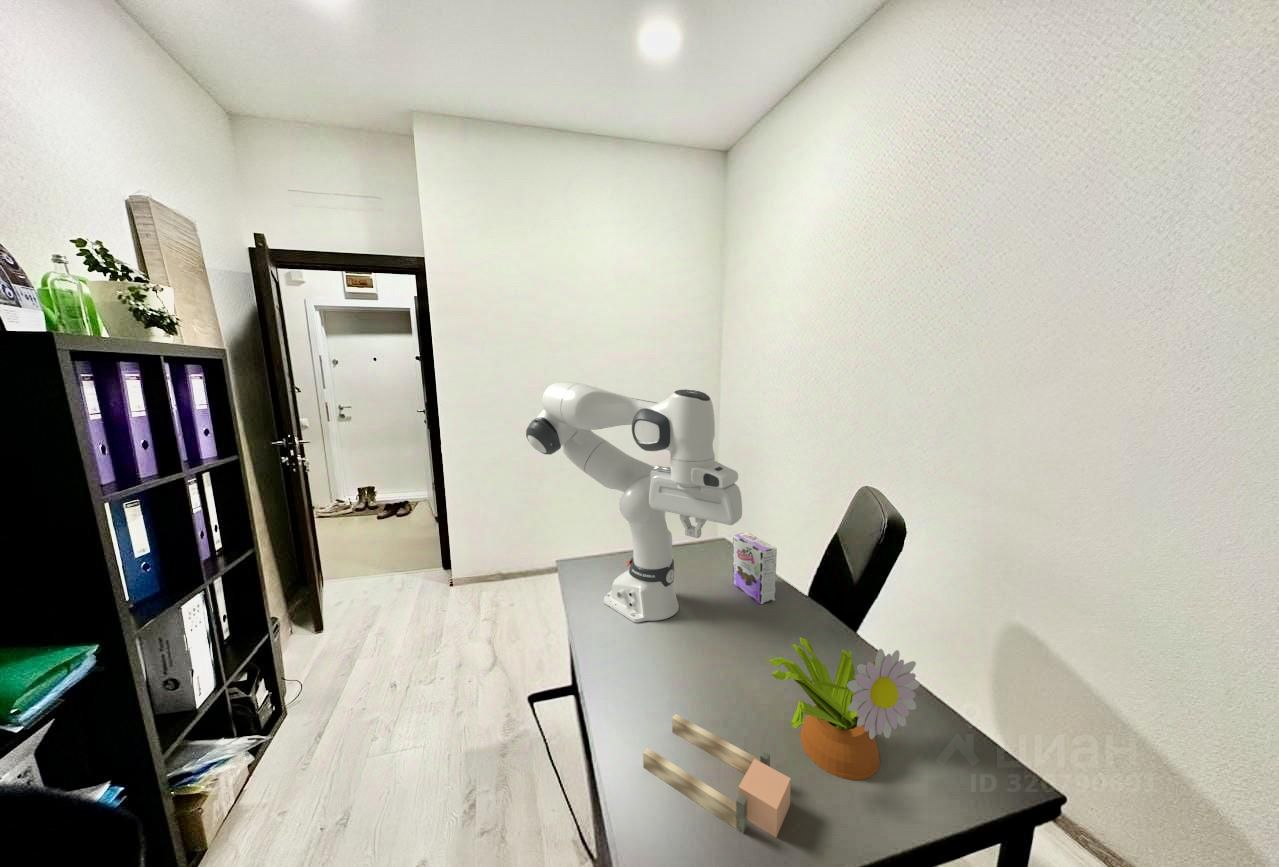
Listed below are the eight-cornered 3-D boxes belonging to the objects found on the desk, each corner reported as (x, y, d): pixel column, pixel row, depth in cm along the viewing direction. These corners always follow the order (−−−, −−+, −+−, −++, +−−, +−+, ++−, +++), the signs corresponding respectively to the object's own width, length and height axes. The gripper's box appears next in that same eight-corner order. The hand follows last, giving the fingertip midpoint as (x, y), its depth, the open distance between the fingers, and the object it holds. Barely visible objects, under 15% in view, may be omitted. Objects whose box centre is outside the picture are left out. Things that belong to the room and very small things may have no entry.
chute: (643, 767, 77) (642, 742, 76) (675, 727, 85) (675, 704, 84) (743, 833, 65) (743, 804, 65) (769, 780, 74) (770, 754, 73)
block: (738, 814, 68) (738, 786, 68) (753, 784, 73) (754, 758, 72) (776, 838, 65) (776, 809, 64) (790, 805, 70) (790, 778, 69)
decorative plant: (821, 827, 66) (828, 677, 62) (741, 708, 89) (742, 594, 85) (957, 776, 73) (971, 639, 69) (851, 679, 96) (856, 572, 92)
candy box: (731, 583, 139) (732, 534, 136) (747, 579, 141) (747, 531, 139) (760, 605, 126) (760, 551, 124) (776, 600, 129) (777, 547, 126)
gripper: (642, 467, 92) (643, 530, 95) (731, 481, 80) (731, 552, 82) (659, 462, 97) (660, 521, 100) (746, 473, 85) (745, 541, 87)
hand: (693, 536), depth 91 cm, fingers closed
